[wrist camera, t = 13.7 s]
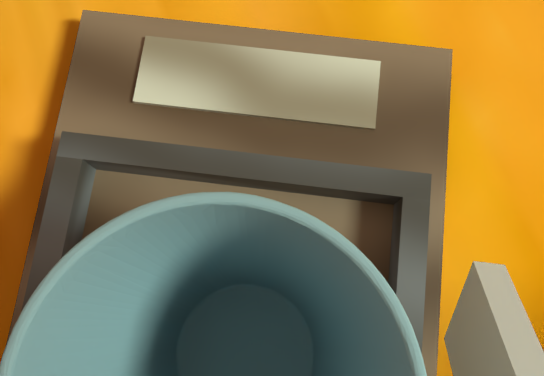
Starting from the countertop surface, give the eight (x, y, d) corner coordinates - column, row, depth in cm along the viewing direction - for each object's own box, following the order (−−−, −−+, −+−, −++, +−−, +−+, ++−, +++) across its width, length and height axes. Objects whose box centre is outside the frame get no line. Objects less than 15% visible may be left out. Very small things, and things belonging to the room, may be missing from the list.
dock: (92, 24, 23) (69, -11, 21) (443, 62, 23) (465, 30, 20) (-15, 507, 19) (-62, 539, 16) (416, 569, 18) (440, 613, 16)
